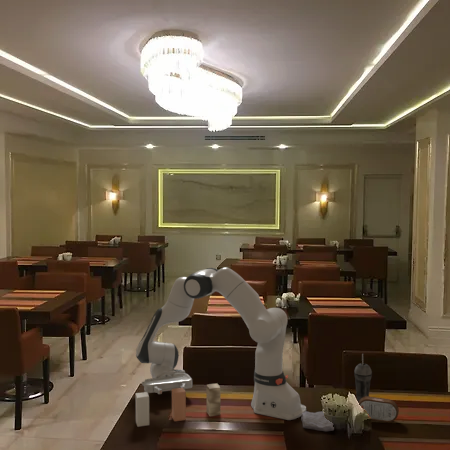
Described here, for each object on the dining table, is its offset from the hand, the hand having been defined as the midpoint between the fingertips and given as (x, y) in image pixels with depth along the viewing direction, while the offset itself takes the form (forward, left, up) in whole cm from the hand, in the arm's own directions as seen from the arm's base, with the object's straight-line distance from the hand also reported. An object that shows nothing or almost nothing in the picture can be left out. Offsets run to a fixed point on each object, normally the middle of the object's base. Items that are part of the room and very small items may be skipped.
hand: (171, 390), depth 210 cm
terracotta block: (-10, +7, -6) cm, 14 cm away
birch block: (-18, -5, -6) cm, 19 cm away
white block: (-2, +18, -6) cm, 20 cm away
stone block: (-55, -21, -7) cm, 59 cm away
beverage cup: (-59, -53, -6) cm, 80 cm away
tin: (-71, -39, -6) cm, 81 cm away
